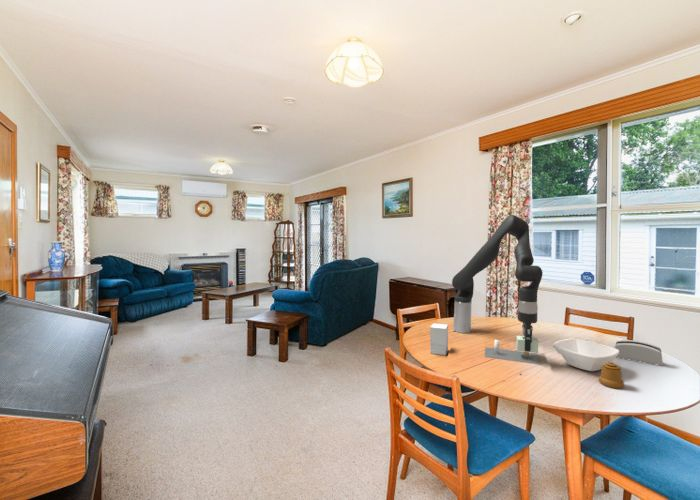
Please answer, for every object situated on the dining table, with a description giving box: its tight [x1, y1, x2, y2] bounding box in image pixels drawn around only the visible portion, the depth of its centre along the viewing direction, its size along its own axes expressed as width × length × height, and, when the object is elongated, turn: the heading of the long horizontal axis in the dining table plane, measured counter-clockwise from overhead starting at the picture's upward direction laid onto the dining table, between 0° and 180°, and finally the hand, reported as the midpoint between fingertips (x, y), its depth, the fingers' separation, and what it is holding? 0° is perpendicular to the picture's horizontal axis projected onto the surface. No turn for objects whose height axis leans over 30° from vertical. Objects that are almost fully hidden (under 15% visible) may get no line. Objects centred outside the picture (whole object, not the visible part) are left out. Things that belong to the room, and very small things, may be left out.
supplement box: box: [429, 323, 449, 356], centre depth 159 cm, size 7×7×13 cm
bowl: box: [552, 338, 619, 372], centre depth 141 cm, size 21×21×9 cm
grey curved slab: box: [614, 339, 664, 366], centre depth 148 cm, size 17×5×10 cm, turn 50°
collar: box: [515, 335, 539, 354], centre depth 148 cm, size 8×6×5 cm
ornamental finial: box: [598, 362, 625, 390], centre depth 125 cm, size 8×8×8 cm
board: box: [483, 339, 542, 366], centre depth 151 cm, size 22×14×8 cm, turn 66°
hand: (526, 348), depth 148 cm, fingers closed on collar, 6 cm apart
